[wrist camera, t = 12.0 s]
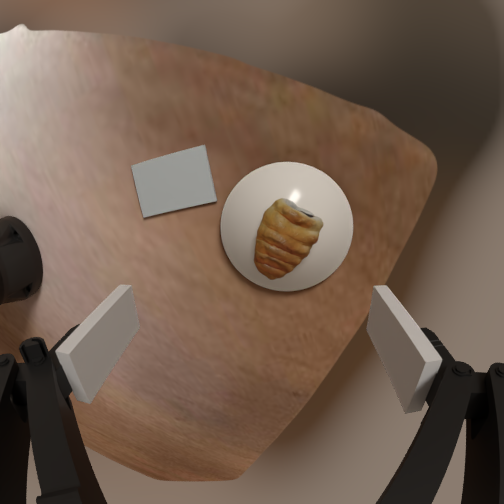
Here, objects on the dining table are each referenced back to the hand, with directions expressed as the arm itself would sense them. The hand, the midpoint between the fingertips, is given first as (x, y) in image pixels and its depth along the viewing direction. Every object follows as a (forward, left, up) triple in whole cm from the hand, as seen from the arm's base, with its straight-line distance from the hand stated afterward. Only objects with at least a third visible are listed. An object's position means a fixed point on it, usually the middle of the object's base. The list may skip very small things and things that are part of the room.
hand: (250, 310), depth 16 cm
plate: (+3, -1, -22) cm, 23 cm away
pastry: (+3, -2, -21) cm, 22 cm away
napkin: (-11, +5, -22) cm, 26 cm away
